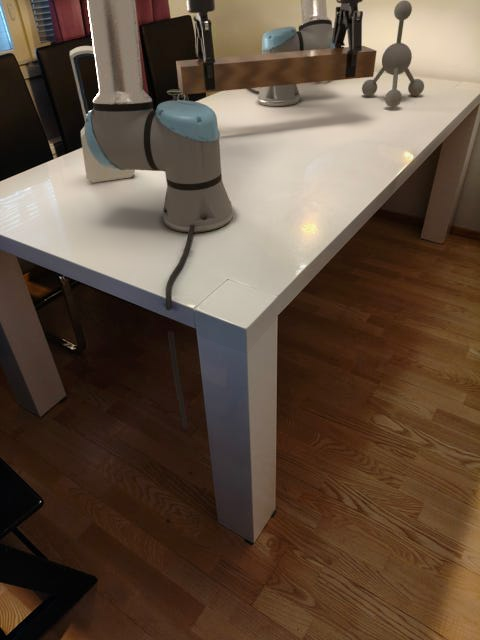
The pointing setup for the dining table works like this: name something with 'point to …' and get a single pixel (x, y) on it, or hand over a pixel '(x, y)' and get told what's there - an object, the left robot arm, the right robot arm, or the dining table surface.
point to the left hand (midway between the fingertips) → (207, 85)
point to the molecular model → (396, 63)
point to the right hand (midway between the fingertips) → (343, 73)
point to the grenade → (177, 95)
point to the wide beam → (274, 69)
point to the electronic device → (92, 166)
